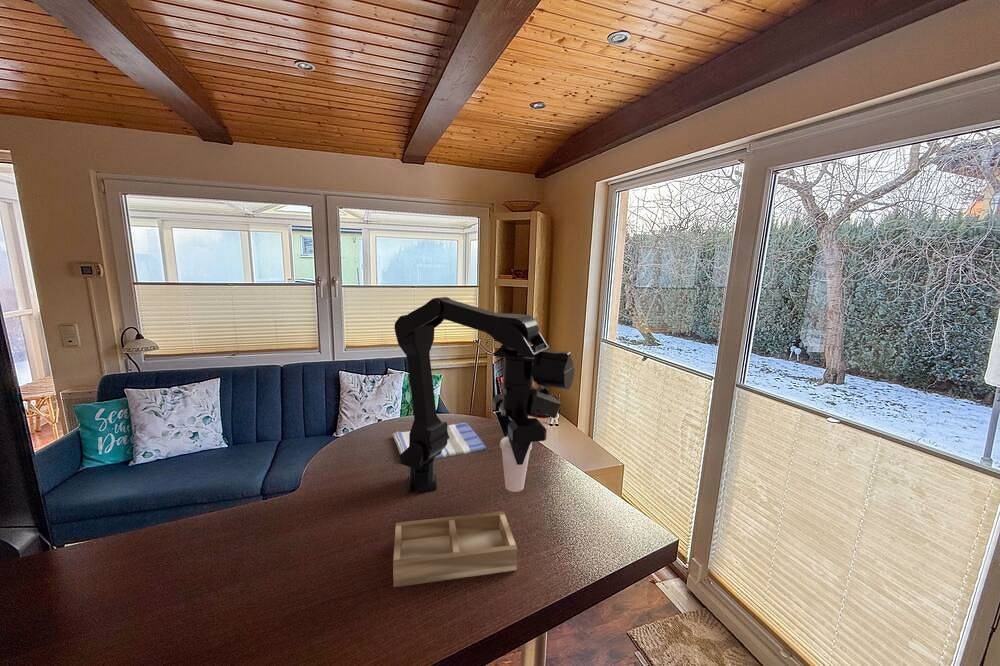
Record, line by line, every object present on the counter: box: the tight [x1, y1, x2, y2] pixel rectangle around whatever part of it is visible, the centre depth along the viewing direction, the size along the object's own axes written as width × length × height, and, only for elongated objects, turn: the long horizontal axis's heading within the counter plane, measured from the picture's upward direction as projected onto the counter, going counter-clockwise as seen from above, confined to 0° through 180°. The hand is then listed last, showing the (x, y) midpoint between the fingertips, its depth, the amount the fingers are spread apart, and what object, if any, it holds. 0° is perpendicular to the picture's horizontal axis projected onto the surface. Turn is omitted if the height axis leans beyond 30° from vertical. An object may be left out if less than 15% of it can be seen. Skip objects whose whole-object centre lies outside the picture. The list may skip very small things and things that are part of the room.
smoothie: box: [499, 436, 533, 493], centre depth 80 cm, size 6×6×14 cm
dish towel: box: [391, 422, 487, 460], centre depth 114 cm, size 17×24×3 cm
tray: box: [392, 511, 518, 588], centre depth 70 cm, size 10×20×4 cm, turn 102°
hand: (515, 456), depth 80 cm, fingers closed on smoothie, 6 cm apart
